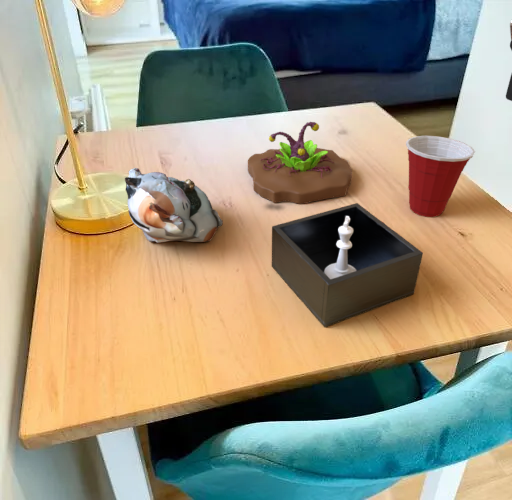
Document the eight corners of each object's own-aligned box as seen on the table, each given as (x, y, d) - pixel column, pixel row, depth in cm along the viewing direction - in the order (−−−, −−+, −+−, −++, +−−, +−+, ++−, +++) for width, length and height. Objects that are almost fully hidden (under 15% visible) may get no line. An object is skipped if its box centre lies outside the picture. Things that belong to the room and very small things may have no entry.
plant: (364, 199, 92) (372, 141, 85) (257, 207, 89) (257, 148, 83) (335, 153, 108) (340, 101, 101) (244, 159, 106) (243, 107, 99)
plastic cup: (468, 205, 90) (486, 142, 83) (444, 231, 83) (460, 164, 76) (411, 187, 95) (423, 126, 88) (384, 210, 88) (394, 146, 82)
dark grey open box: (414, 294, 70) (423, 252, 66) (324, 327, 65) (328, 284, 61) (352, 241, 81) (357, 202, 77) (271, 266, 75) (271, 226, 71)
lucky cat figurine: (235, 235, 82) (213, 187, 70) (174, 278, 81) (141, 237, 68) (189, 178, 89) (162, 126, 77) (132, 217, 88) (95, 170, 75)
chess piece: (318, 282, 71) (323, 221, 66) (329, 263, 75) (335, 204, 69) (352, 291, 70) (360, 230, 64) (362, 271, 73) (370, 212, 67)
